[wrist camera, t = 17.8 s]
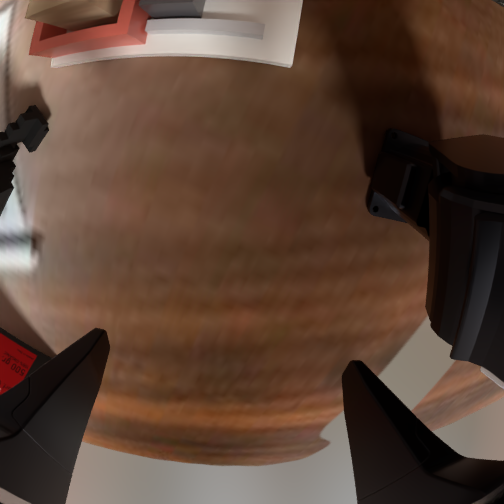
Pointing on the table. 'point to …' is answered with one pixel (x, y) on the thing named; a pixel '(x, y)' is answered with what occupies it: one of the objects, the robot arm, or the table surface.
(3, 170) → the security camera
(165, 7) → the toggle
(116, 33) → the slide switch base
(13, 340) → the cleaning product box
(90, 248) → the table surface
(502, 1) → the ink cartridge
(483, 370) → the lava lamp
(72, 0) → the block
